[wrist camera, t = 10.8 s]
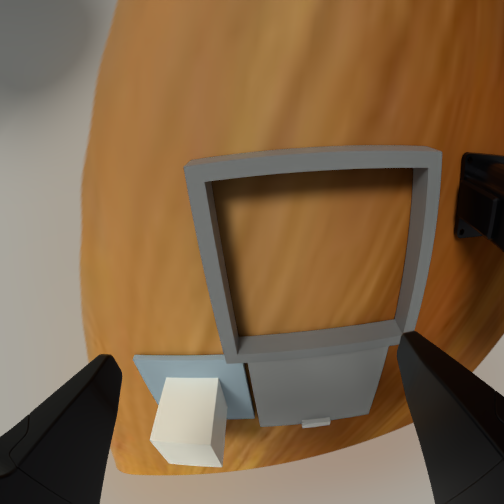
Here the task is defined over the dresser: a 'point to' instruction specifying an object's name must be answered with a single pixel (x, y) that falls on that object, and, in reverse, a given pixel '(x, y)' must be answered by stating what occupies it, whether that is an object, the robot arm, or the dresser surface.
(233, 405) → the mat
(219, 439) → the block
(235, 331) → the grey open frame
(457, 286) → the dresser surface
